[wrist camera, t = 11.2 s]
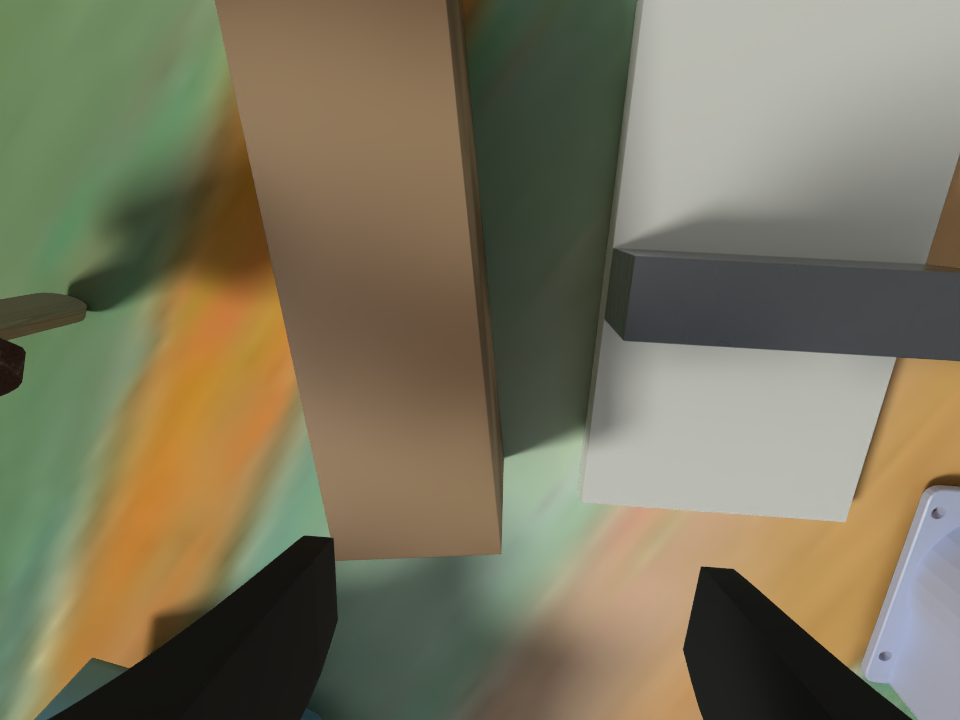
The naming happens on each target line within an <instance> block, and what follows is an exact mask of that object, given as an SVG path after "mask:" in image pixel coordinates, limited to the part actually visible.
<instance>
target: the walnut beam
mask: <svg viewBox="0 0 960 720" xmlns="http://www.w3.org/2000/svg"><path fill="white" fill-rule="evenodd" d="M215 4H216V8H217V13H218V17H219V22H220V27H221V31H222V36H223V41H224V45H225V50H226V55H227V59H228V64H229V68H230V73H231V78H232V82H233V87H234V92H235V96H236V101H237V106H238V110H239V115H240V119H241V124H242V129H243V133H244V138H245V143H246V147H247V152H248V156H249V161H250V166H251V170H252V175H253V180H254V184H255V189H256V194H257V198H258V203H259V207H260V212H261V217H262V221H263V226H264V231H265V235H266V240H267V245H268V249H269V254H270V258H271V263H272V268H273V272H274V277H275V282H276V286H277V291H278V296H279V300H280V305H281V309H282V314H283V319H284V323H285V328H286V333H287V337H288V342H289V347H290V351H291V356H292V360H293V365H294V370H295V374H296V379H297V384H298V388H299V393H300V397H301V402H302V407H303V411H304V416H305V421H306V425H307V430H308V435H309V439H310V444H311V448H312V453H313V458H314V462H315V467H316V472H317V476H318V481H319V486H320V490H321V495H322V499H323V504H324V509H325V513H326V518H327V523H328V527H329V532H330V537H331V538H334V553H335V560H336V561H344V560H368V559H392V558H416V557H440V556H465V555H489V554H501V542H502V505H503V468H504V456H503V445H502V434H501V423H500V412H499V401H498V390H497V379H496V369H495V358H494V347H493V336H492V325H491V314H490V303H489V293H488V282H487V271H486V260H485V249H484V238H483V227H482V216H481V206H480V195H479V184H478V173H477V162H476V151H475V140H474V130H473V119H472V108H471V97H470V86H469V75H468V64H467V53H466V43H465V32H464V21H463V10H462V0H215Z"/></svg>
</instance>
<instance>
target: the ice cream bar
mask: <svg viewBox="0 0 960 720" xmlns="http://www.w3.org/2000/svg"><path fill="white" fill-rule="evenodd" d="M86 310H87V306H86V304H85V303H84V302H83V301H81V300H79V299H77V298H74V297H71V296H67V295H62V294H55V293H36V294H30V295H24V296H18V297H12V298H7V299H1V300H0V396H2V395H5V394H7V393H9V392H11V391H13V390H15V389H16V388H18V387H19V385H20V384H21V383H22V379H23V370H24V362H25V354H26V352H25V351H24V349H23V348H22V347H20V346H18V345H16V344H13V343H11V342H9V341H6V340H10V339H14V338H18V337H22V336H26V335H30V334H33V333H37V332H41V331H45V330H49V329H53V328H57V327H61V326H65V325H69V324H72V323H76V322H80V321H82V320H84V318H85V316H86Z"/></svg>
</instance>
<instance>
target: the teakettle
mask: <svg viewBox="0 0 960 720" xmlns="http://www.w3.org/2000/svg"><path fill="white" fill-rule="evenodd" d="M128 669H130V668H126V667H123V666H119V665H116V664H113V663H109V662H106V661H103V660H99V659H96V658H92V659H91V660H90V661H89V662H88V663H87V664H86V665H85V666H84V667H83V668H82V669H81V670H80V671H79V672H78V673H77V674H76V676H75V677H74V678H73V679H72V680H71V681H70V682H69V683H68V684H67V685H66V686H65V687H64V688H63V689H62V691H61V692H60V693H59V694H58V695H57V696H56V697H55V698H54V699H53V700H52V701H51V702H50V703H49V704H48V706H47V707H46V708H45V709H44V710H43V711H42V712H41V713H40V714H39V715H38V716H37V717H36V718H35V719H34V720H47V719H49V718H51V717H53V716H54V715H56V714H58V713H60V712H61V711H63V710H65V709H66V708H68V707H70V706H71V705H73V704H75V703H76V702H78V701H80V700H81V699H83V698H84V697H86V696H88V695H89V694H91V693H92V692H94V691H95V690H97V689H99V688H100V687H102V686H103V685H105V684H106V683H108V682H110V681H111V680H113V679H114V678H116V677H117V676H119V675H121V674H122V673H124V672H125V671H127V670H128ZM301 720H323V719H322V718H321V717H320V716H319V715H317V714H316V713H315V712H313V711H311V710H309V709H305V711H304V713H303V716H302V718H301Z"/></svg>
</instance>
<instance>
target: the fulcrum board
mask: <svg viewBox="0 0 960 720" xmlns="http://www.w3.org/2000/svg"><path fill="white" fill-rule="evenodd" d="M959 155H960V0H638V1H637V4H636V12H635V20H634V28H633V37H632V45H631V53H630V62H629V70H628V78H627V87H626V95H625V103H624V111H623V120H622V128H621V136H620V145H619V153H618V161H617V169H616V178H615V186H614V194H613V203H612V211H611V219H610V227H609V236H608V244H607V252H606V261H605V269H604V277H603V286H602V294H601V302H600V310H599V319H598V327H597V335H596V344H595V352H594V360H593V368H592V377H591V385H590V393H589V402H588V410H587V418H586V426H585V435H584V443H583V451H582V460H581V468H580V476H579V485H578V491H579V495H580V499H581V503H594V504H607V505H621V506H635V507H648V508H662V509H675V510H689V511H703V512H716V513H730V514H744V515H757V516H771V517H784V518H798V519H812V520H825V521H839V522H846V519H847V515H848V512H849V509H850V506H851V503H852V499H853V496H854V493H855V490H856V486H857V483H858V480H859V477H860V474H861V470H862V467H863V464H864V461H865V457H866V454H867V451H868V448H869V445H870V441H871V438H872V435H873V432H874V428H875V425H876V422H877V419H878V416H879V412H880V409H881V406H882V403H883V399H884V396H885V393H886V390H887V387H888V383H889V380H890V377H891V374H892V370H893V367H894V364H895V361H896V358H897V357H901V358H917V359H934V360H951V361H960V269H959V268H951V267H943V266H936V265H928V264H926V261H927V258H928V255H929V251H930V248H931V245H932V242H933V238H934V235H935V232H936V229H937V226H938V222H939V219H940V216H941V213H942V209H943V206H944V203H945V200H946V197H947V193H948V190H949V187H950V184H951V180H952V177H953V174H954V171H955V168H956V164H957V161H958V158H959Z"/></svg>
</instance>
